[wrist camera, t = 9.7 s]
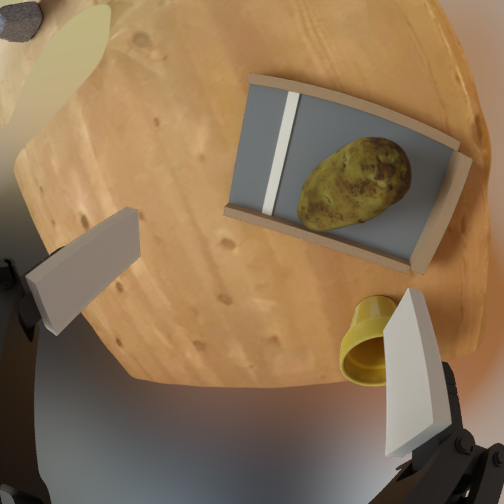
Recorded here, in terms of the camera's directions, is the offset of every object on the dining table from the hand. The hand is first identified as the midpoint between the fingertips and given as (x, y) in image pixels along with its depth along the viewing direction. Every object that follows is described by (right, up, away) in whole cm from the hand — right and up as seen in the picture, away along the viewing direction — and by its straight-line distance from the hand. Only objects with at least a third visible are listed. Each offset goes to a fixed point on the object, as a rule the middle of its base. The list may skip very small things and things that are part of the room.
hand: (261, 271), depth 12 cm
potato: (+10, +9, +17) cm, 22 cm away
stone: (-46, +49, +15) cm, 69 cm away
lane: (+10, +10, +18) cm, 22 cm away
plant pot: (+18, -8, +25) cm, 32 cm away
